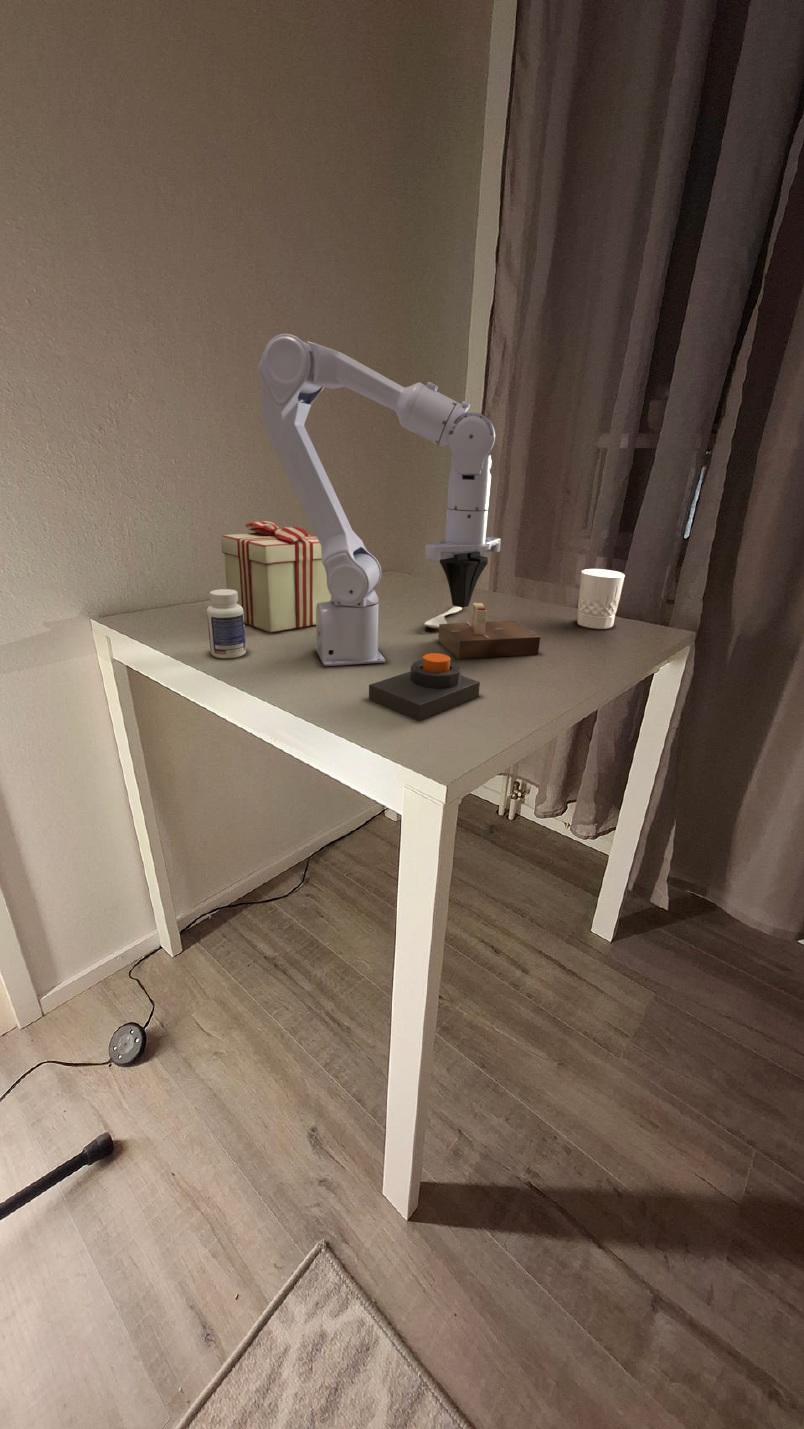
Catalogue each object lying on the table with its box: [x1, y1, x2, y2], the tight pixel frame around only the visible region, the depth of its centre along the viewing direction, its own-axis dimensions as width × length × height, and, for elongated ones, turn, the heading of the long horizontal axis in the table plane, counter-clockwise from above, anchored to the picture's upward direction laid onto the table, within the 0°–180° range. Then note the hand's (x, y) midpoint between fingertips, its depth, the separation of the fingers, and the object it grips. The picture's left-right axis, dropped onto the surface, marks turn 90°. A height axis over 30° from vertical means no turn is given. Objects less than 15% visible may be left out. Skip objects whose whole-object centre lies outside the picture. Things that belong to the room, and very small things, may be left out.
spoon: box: [423, 606, 463, 630], centre depth 119 cm, size 4×21×2 cm, turn 161°
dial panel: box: [437, 620, 541, 660], centre depth 103 cm, size 14×10×3 cm
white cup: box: [576, 568, 626, 630], centre depth 118 cm, size 8×8×10 cm
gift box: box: [220, 520, 332, 633], centre depth 113 cm, size 17×18×17 cm
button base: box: [368, 659, 481, 722], centre depth 81 cm, size 12×9×4 cm
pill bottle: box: [206, 588, 247, 659], centre depth 94 cm, size 5×5×10 cm
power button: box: [422, 652, 451, 673], centre depth 81 cm, size 4×4×2 cm
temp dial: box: [470, 602, 488, 635], centre depth 101 cm, size 5×2×4 cm, turn 1°
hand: (460, 605), depth 91 cm, fingers closed
